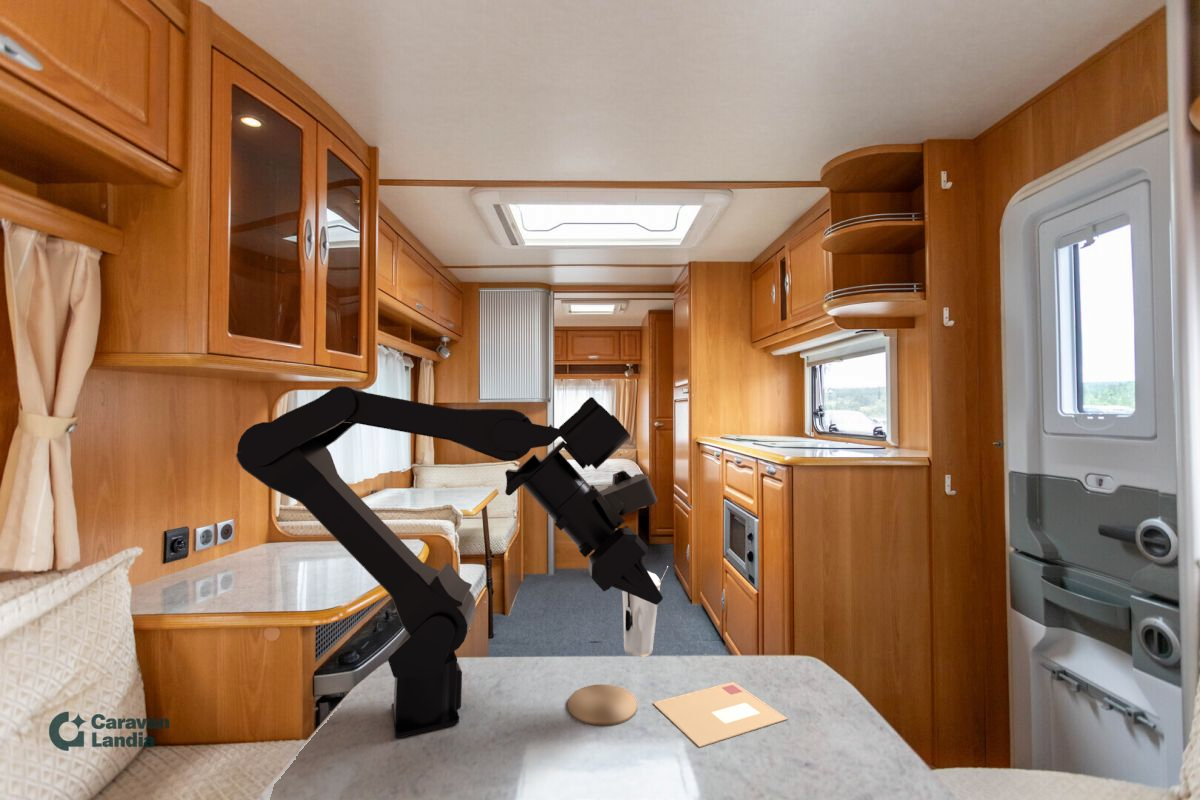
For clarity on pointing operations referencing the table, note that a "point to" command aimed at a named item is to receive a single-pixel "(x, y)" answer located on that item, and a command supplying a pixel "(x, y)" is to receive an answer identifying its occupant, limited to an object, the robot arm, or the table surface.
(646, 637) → the milkshake
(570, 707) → the coaster
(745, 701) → the envelope
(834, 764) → the table surface
